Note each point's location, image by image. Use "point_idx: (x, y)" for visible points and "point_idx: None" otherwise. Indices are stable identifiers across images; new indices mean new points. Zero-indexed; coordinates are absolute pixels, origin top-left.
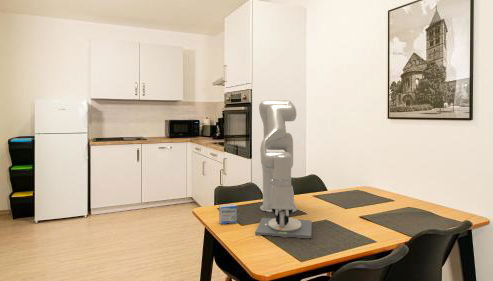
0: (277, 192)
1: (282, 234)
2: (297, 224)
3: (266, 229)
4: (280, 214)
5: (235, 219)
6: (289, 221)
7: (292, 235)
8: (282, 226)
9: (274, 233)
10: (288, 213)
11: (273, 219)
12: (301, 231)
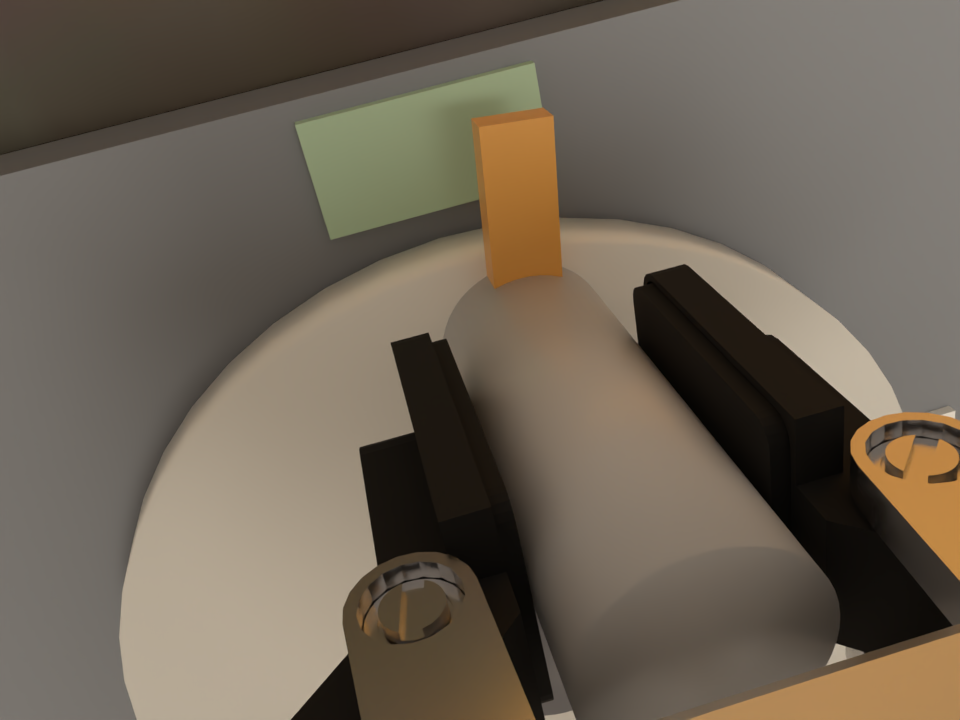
0: None
1: (413, 64)
2: (221, 673)
3: (882, 191)
4: (741, 508)
5: None
6: None
7: (132, 138)
8: (506, 294)
9: (638, 10)
10: (366, 676)
11: (829, 662)
12: (12, 458)
